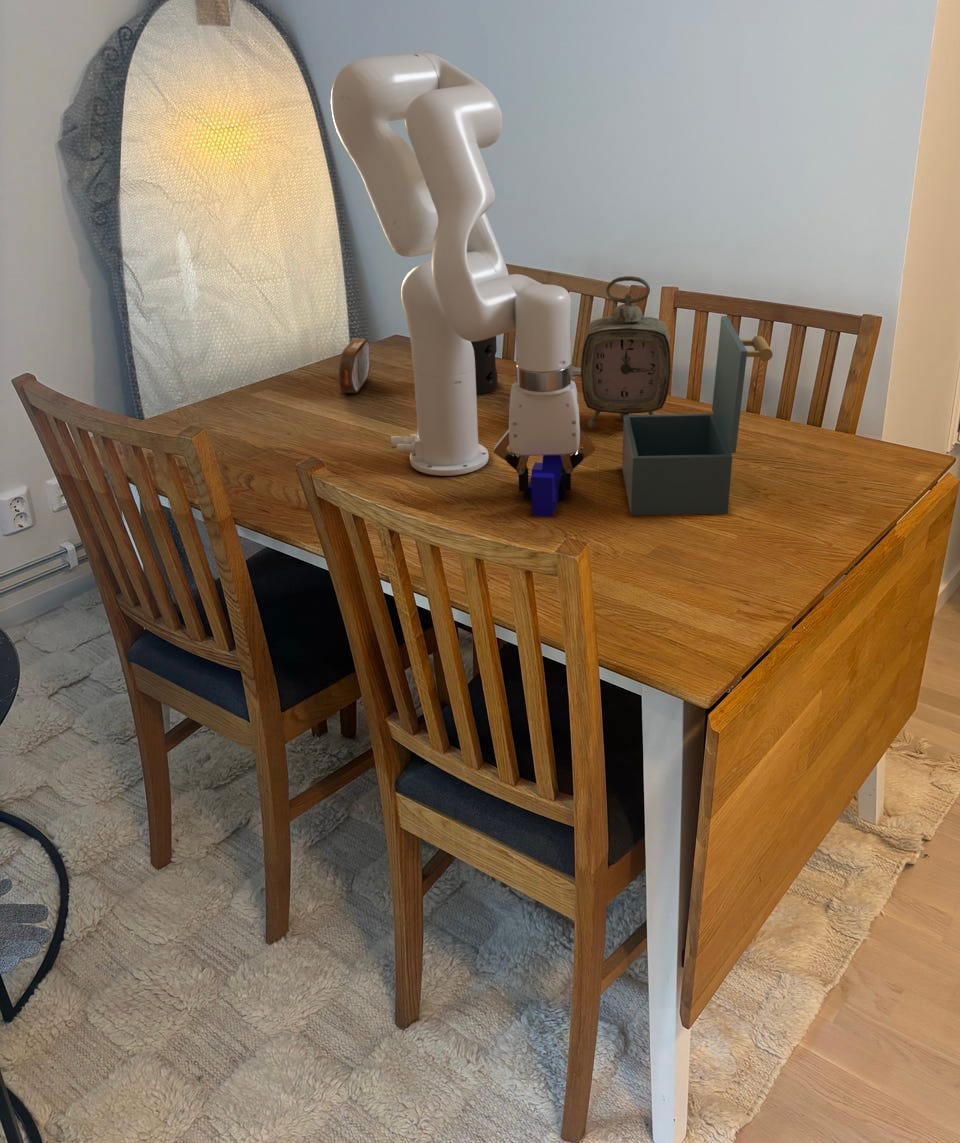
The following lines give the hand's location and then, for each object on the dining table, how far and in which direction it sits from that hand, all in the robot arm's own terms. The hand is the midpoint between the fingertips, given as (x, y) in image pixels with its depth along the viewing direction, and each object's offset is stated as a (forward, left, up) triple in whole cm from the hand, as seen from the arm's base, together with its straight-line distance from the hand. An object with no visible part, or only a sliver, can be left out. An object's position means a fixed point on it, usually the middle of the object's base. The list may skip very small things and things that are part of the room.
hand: (544, 493), depth 159 cm
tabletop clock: (+14, +29, -1) cm, 32 cm away
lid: (+26, +2, +16) cm, 30 cm away
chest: (+19, +2, 0) cm, 19 cm away
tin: (-35, +51, -1) cm, 62 cm away
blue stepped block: (0, 0, -1) cm, 1 cm away
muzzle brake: (-13, +49, -1) cm, 51 cm away
